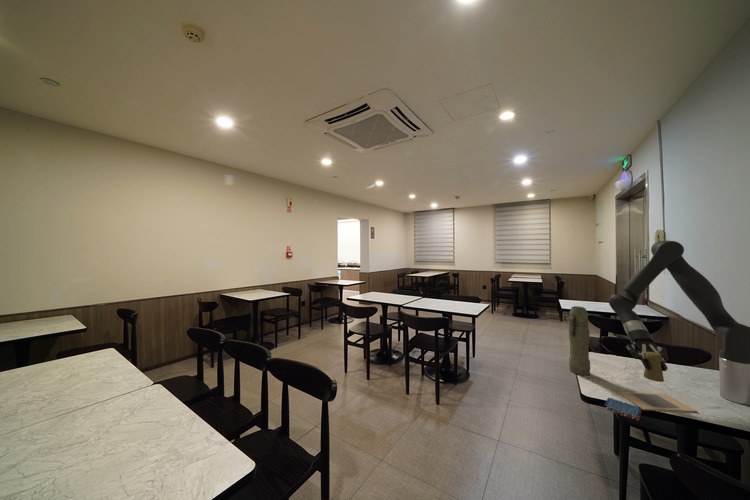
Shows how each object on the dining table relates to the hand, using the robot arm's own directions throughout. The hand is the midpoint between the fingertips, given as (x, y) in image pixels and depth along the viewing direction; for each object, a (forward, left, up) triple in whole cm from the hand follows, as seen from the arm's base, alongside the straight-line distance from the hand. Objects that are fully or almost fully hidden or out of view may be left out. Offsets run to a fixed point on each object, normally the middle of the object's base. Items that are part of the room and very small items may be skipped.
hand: (657, 369), depth 111 cm
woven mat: (+18, +5, -15) cm, 24 cm away
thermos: (+13, -29, -15) cm, 35 cm away
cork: (0, -2, -5) cm, 5 cm away
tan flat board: (0, -2, -15) cm, 15 cm away
